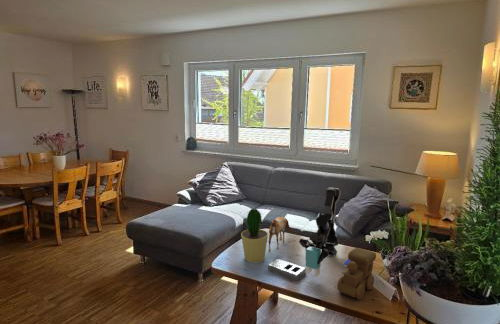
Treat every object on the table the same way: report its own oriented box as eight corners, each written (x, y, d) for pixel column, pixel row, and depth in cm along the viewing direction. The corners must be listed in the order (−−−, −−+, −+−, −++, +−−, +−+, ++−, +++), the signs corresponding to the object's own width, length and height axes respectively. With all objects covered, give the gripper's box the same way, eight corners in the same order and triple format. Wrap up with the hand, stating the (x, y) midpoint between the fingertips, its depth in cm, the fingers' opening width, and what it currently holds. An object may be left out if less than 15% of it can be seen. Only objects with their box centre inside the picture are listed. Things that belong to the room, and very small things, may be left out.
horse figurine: (274, 256, 183) (274, 222, 180) (262, 253, 187) (262, 220, 183) (293, 237, 210) (293, 207, 207) (282, 235, 214) (282, 206, 211)
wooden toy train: (354, 277, 160) (355, 246, 157) (376, 285, 152) (378, 253, 149) (334, 294, 145) (335, 260, 142) (358, 304, 138) (360, 268, 135)
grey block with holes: (277, 263, 175) (277, 258, 174) (305, 273, 164) (305, 267, 164) (268, 270, 168) (268, 264, 167) (297, 280, 157) (297, 275, 157)
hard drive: (350, 255, 181) (342, 263, 171) (365, 259, 176) (357, 268, 166) (350, 258, 181) (342, 266, 172) (365, 261, 176) (357, 270, 167)
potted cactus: (257, 267, 171) (257, 214, 166) (236, 259, 180) (234, 209, 175) (273, 256, 183) (273, 207, 178) (252, 249, 192) (251, 202, 187)
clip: (309, 270, 161) (309, 246, 159) (320, 273, 157) (320, 249, 155) (305, 273, 158) (306, 249, 155) (316, 277, 154) (317, 252, 152)
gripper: (300, 223, 162) (289, 250, 156) (335, 231, 151) (324, 261, 144) (307, 232, 170) (297, 259, 163) (341, 241, 158) (331, 270, 152)
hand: (311, 262), depth 155 cm, fingers closed on clip, 6 cm apart
